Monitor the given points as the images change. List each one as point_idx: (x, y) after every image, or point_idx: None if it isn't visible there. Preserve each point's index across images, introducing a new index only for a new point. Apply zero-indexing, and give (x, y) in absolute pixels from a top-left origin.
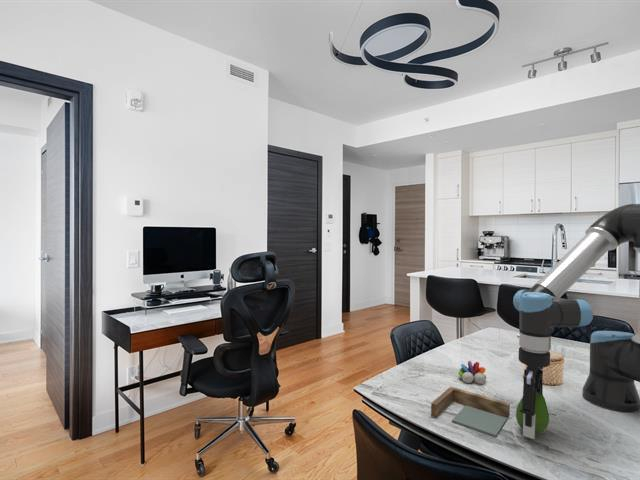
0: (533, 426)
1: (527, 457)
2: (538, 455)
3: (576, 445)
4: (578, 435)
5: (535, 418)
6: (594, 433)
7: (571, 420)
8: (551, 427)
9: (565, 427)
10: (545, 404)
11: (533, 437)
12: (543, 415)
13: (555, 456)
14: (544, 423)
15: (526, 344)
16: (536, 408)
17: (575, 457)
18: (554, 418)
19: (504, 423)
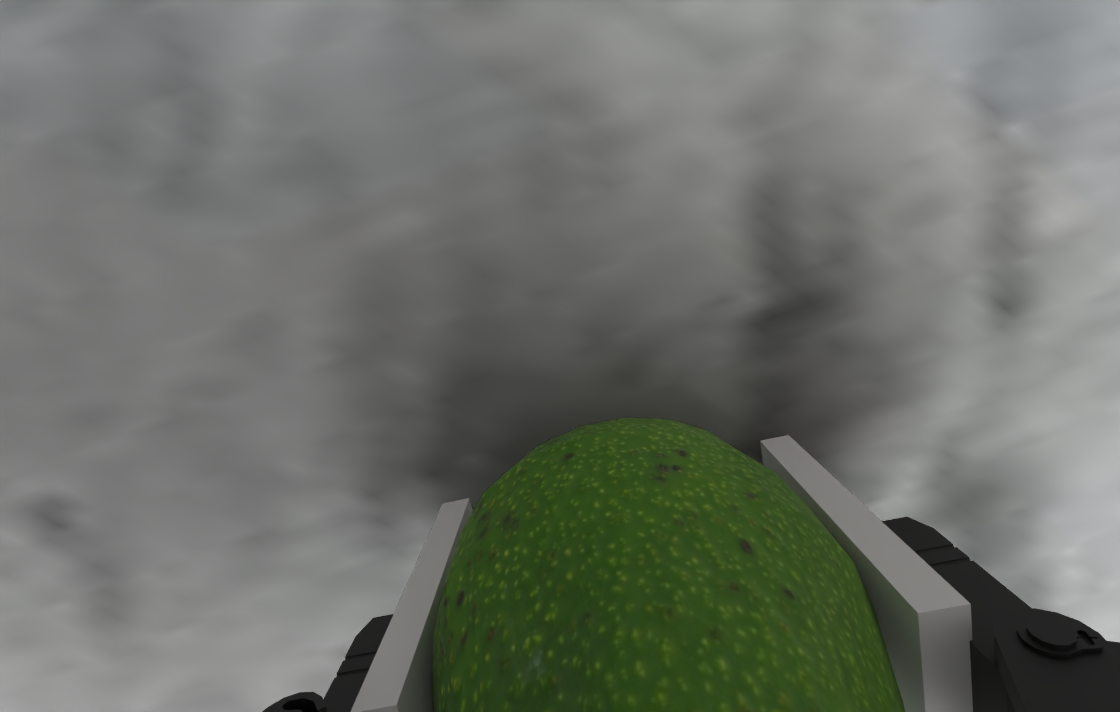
0: (859, 508)
1: (1101, 358)
2: (993, 310)
3: (503, 140)
4: (268, 200)
5: (852, 563)
6: (59, 100)
7: (4, 360)
8: (347, 430)
9: (218, 345)
10: (708, 657)
11: (794, 448)
12: (777, 519)
13: (894, 201)
14: (724, 448)
15: None
16: (890, 689)
17: (762, 63)
18: (131, 479)
19: None
